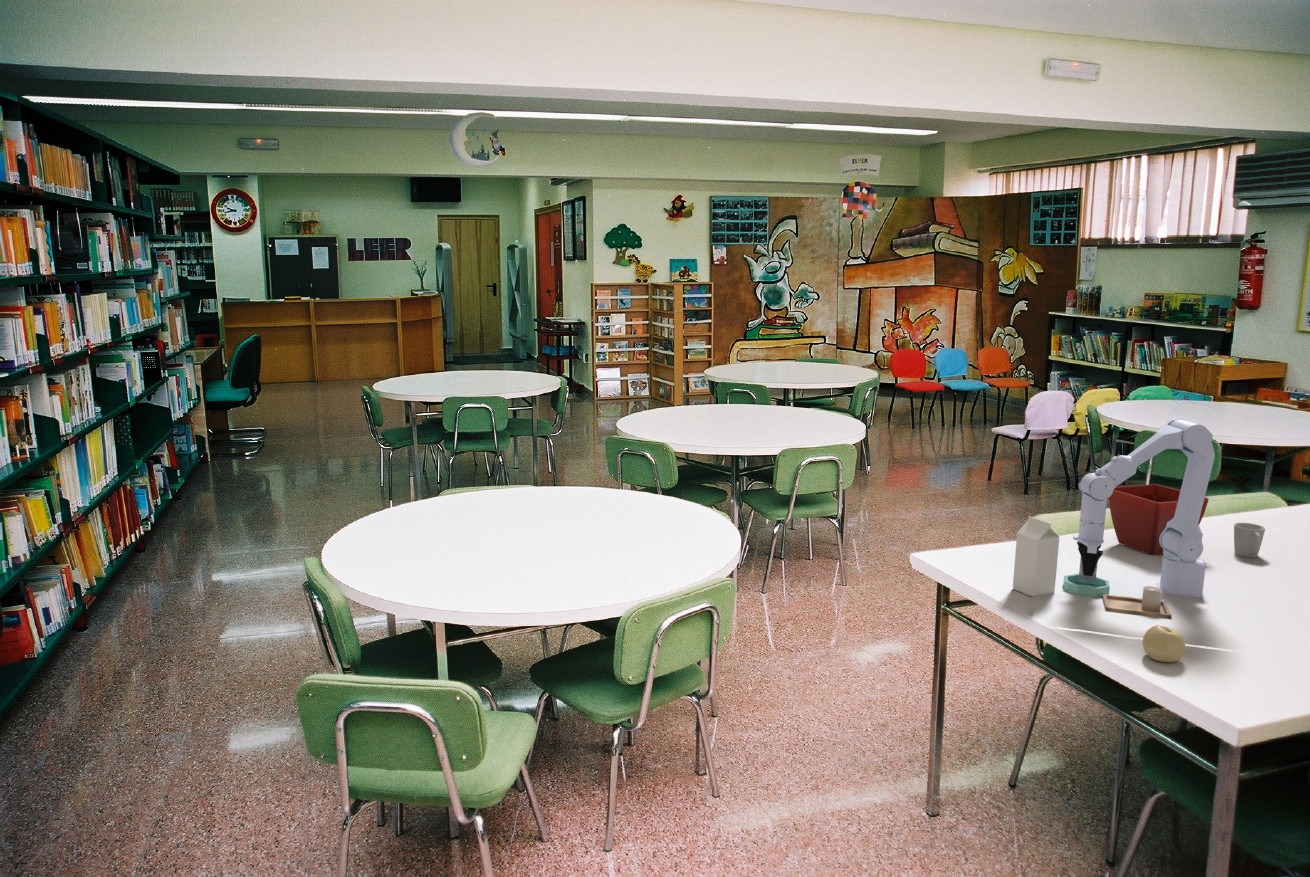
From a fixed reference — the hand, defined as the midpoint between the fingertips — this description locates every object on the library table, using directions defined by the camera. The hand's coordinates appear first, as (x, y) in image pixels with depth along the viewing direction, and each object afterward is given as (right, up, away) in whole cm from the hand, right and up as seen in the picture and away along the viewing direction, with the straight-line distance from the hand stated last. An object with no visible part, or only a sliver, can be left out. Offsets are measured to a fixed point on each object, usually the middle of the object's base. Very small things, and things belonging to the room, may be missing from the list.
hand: (1087, 572), depth 236 cm
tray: (+6, -7, -11) cm, 15 cm away
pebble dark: (0, -1, 0) cm, 1 cm away
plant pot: (+36, +2, +37) cm, 52 cm away
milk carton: (-14, -5, 0) cm, 15 cm away
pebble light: (+9, -7, -13) cm, 17 cm away
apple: (-3, -13, -40) cm, 42 cm away
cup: (+60, 0, +30) cm, 67 cm away
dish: (0, -5, +1) cm, 5 cm away
